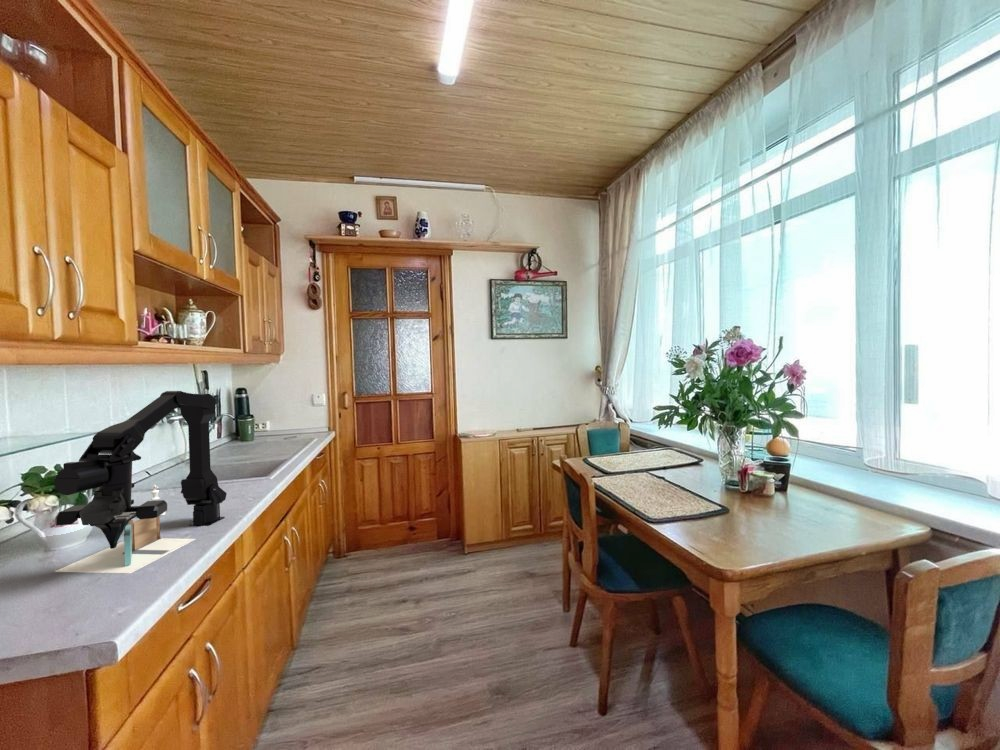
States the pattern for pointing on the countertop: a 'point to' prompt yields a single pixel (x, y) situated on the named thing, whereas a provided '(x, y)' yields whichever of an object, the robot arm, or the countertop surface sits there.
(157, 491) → the chess piece
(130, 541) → the mint green upright panel
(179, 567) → the countertop surface
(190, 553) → the countertop surface
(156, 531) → the fence fixed
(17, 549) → the countertop surface
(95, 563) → the card
